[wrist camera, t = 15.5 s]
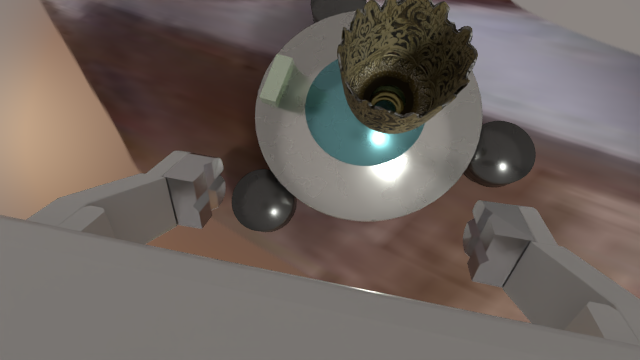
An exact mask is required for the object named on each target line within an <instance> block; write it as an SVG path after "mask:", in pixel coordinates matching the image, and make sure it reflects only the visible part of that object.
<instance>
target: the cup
mask: <svg viewBox="0 0 640 360" xmlns="http://www.w3.org/2000/svg"><path fill="white" fill-rule="evenodd" d="M380 8H381V9H380ZM449 10H450V8H449V6H448V5H447V3H446V2H444V1H443V2H440V3H438V4H436V5H434V4H433V2H432V0H398V1H397V0H385V2H384V4H383V6H382V7H380V5H379V4H378V3H377V2H376V1H375V0H370V1H368V2H367V4H365V6H364V7H363V11H362V10H360V9H357V10H356V12H355V15H354V17H353V20H352V22H351V23H350V28H349V29H347V28H345V27H343V30H342V40H341V43H340V44H339V45H338V48H337V57H338V64H339V68H340V74H341V80H342V85H343V89H344V94H345V97H346V100H347V103H348V105H349V107H350V109H351V111H352V113H353V114H354V116H355V117H356V118H357V119H358V120H359V121H360V122H361V123H362V124H364V125H365V126H366V127H368V128H370V129H372V130H374V131H377V132H381V133H386V134H399V133H404V132H408V131H411V130H413V129H415V128H417V127H419V126H421V125H423V124H424V123H426V122H427V121H428V120H430V119H431V118H432V117H434V116H435V115H436V114H437V113H438V112H440V111H441V110H442V109H443V108H444V107H445V106H447V105H448V104H449V103H451V102H452V101H453V100H454V99H455V98H456V97H457V96H456V95H457V94H458V93H459V92H460V91H461V90H463V89H464V88H465V87H466V86H467V85H468V83H469V82H470V80H469V79H468V75H469V74H470V72H471V70H472V69H473V67H474V65H475V62H476V60H477V57H478V53H477V50H476V49H475V48H474V46H472V45H471V43H470V42H471V40H472V28H471V27H469V26H463V27H461V29H459V30H457V29H456V26H455V23H454V22H450V21H449V20H448V19H447V18H448V12H449ZM458 31H460V32H458ZM382 100H386V101H389V102H391V103H392V104H393V105H394V107H395V112H394V111H389V110H386V109H384V108H382V107H379V106H375V105H376V104H377V103H378V102H379V101H382Z"/></svg>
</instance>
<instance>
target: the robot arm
mask: <svg viewBox="0 0 640 360" xmlns="http://www.w3.org/2000/svg"><path fill="white" fill-rule="evenodd" d="M222 171H223V164H222V160H221V159H220V158H218V157H212V156H207V155H201V154H196V153H190V152H185V151H173V152H172V153H171V154H170V155H168V156H167V157H166V158H165V159H163V160H162V161H161V162H160V163H158V164H157V165H156V166H155V167H154V168H152V169H151V170H150V171H149V172H147V173H146V174H142V173H140V174H137V175H134V176H130V177H127V178H124V179H120V180H117V181H114V182H111V183H107V184H104V185H100V186H97V187H94V188H90V189H87V190H84V191H80V192H77V193H73V194H70V195H67V196H64V197H60V198H57V199H56V200H55V201H53V202H52V203H50V204H49V205H47V206H46V207H44V208H43V209H41V210H40V211H38V212H37V213H35V214H34V215H32V216H31V217H29V218H28V219H27V220H23V219H18V218H13V217H8V216H3V215H0V360H640V299H638V298H637V297H636V296H634V295H633V294H631V293H630V292H628V291H627V290H626V289H624V288H623V287H621V286H620V285H618V284H617V283H615V282H614V281H613V280H611V279H610V278H608V277H607V276H605V275H604V274H602V273H601V272H600V271H598V270H597V269H595V268H594V267H592V266H591V265H589V264H588V263H587V262H585V261H584V260H582V259H581V258H579V257H578V256H576V255H575V254H574V253H572V252H571V251H569V250H568V249H566V248H565V247H561V246H558V245H557V243H556V241H555V240H554V238H553V236H552V235H551V233H550V231H549V230H548V228H547V226H546V225H545V223H544V221H543V220H542V218H541V216H540V215H539V213H538V211H537V210H536V209H534V208H533V207H525V206H517V205H508V204H501V203H494V202H487V201H480V200H478V202H477V203H476V204H475V206H474V208H473V215H474V219H472V220H470V221H469V222H467V225H466V228H465V230H464V236H463V247H464V251H465V253H466V254H467V255H468V256H469V257H470V259H469V261H468V263H467V264H468V268H469V272H470V276H471V280H472V281H475V282H479V283H484V284H488V285H493V286H498V287H502V288H503V290H504V291H505V292H506V294H507V295H508V296H509V297H510V298H511V299H512V301H513V302H514V303H515V304H516V305H517V306H518V308H519V309H520V310H521V311H522V312H523V313H524V315H525V316H526V317H527V318H528V319H529V320H530V322H531V323H532V324H531V323H527V322H522V321H517V320H512V319H507V318H502V317H497V316H492V315H487V314H482V313H477V312H472V311H467V310H463V309H458V308H453V307H448V306H443V305H438V304H433V303H428V302H424V301H419V300H414V299H409V298H404V297H399V296H394V295H390V294H385V293H380V292H375V291H370V290H365V289H360V288H355V287H350V286H346V285H341V284H336V283H331V282H326V281H321V280H316V279H311V278H306V277H301V276H296V275H291V274H286V273H281V272H276V271H272V270H267V269H262V268H257V267H252V266H247V265H242V264H238V263H232V262H228V261H223V260H218V259H213V258H208V257H203V256H198V255H194V254H188V253H184V252H179V251H174V250H169V249H164V248H159V247H155V246H149V245H145V244H146V243H148V242H150V241H152V240H153V239H155V238H157V237H159V236H160V235H162V234H164V233H166V232H167V231H169V230H171V229H172V228H174V227H176V226H177V225H182V226H188V227H194V228H200V229H202V228H203V227H204V225H205V224H206V223H207V222H208V220H209V219H210V218H211V216H212V212H211V210H213V209H215V208H217V207H219V205H220V204H221V203H222V201H223V198H224V195H225V180H224V179H223V178H222V176H221V175H220V173H221V172H222Z"/></svg>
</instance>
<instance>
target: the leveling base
mask: <svg viewBox="0 0 640 360" xmlns="http://www.w3.org/2000/svg"><path fill="white" fill-rule="evenodd" d="M365 4H366V0H311V9H312V15H313V21H314V24H313V25H311V26H309V27H307V28H305V29H304V30H303V31H301V32H300V33H298V34H297V35H296V36H294V37H293V38H292V39H291V40H290V41H289V42H288V43H287V44H285V45H284V47H283V48H282V49H281V50H280V51H279V52H278V54H277V55H276V56H275V57H274V59H273V60H272V62H271V64H270V65H269V67H268V69H267V71H266V73H265V75H264V77H263V79H262V82H261V85H260V88H259V91H258V95H257V100H256V109H255V124H256V133H257V138H258V142H259V146H260V148H261V151H262V154H263V156H264V159H265V160H266V162H267V164H268V166H269V168H270V170H267V169H261V170H256V171H253V172H250V173H248V174H247V175H245V176H244V177H243V178H242V179H241V180H240V181H239V182H238V184H237V185H236V187H235V189H234V192H233V196H232V208H233V212H234V214H235V216H236V218H237V219H238V221H239V222H240V223H241V224H242V225H244V226H245V227H247V228H249V229H251V230H255V231H261V232H272V231H276V230H278V229H280V228H282V227H284V226H285V225H286V224H287V223H288V222H289V221H290V220H291V218H292V217H293V215H294V213H295V210H296V203H297V200H296V198H298V199H299V200H300V201H301V202H303V203H304V204H306V205H308V206H310V207H311V208H313V209H315V210H317V211H319V212H322V213H324V214H326V215H329V216H332V217H336V218H340V219H344V220H351V221H358V222H375V221H383V220H390V219H394V218H398V217H402V216H405V215H408V214H410V213H413V212H415V211H417V210H420V209H422V208H423V207H425V206H427V205H428V204H430V203H432V202H434V201H435V200H437V199H438V198H439V197H440V196H442V195H443V194H444V193H446V192H447V191H448V190H449V189H450V188H451V187H452V186H453V185H454V184H455V183H456V182H457V181H458V179H459V178H460V177H461V175H462V174H463V173H464V174H465V176H466V177H467V178H469V179H470V180H471V181H473V182H476V183H478V184H480V185H483V186H486V187H501V186H505V185H507V184H510V183H512V182H515V181H517V180H520V179H521V178H523V177H524V176H526V175H527V174H528V173H529V172H530V170H531V169H532V167H533V165H534V162H535V147H534V144H533V142H532V140H531V138H530V137H529V135H528V134H527V133H526V132H525V131H524V130H523V129H521V128H520V127H518V126H517V125H515V124H512V123H509V122H505V121H493V122H488V123H486V124H483V125H482V102H481V96H480V92H479V87H478V84H477V81H476V79H475V76H474V74H473V71H472V70H471V72H470V74H469V75H468V79H469V80H470V82H469V83H468V85H467V86H466V87H465V88H464V89H463V90H461V91H460V92H459V93H458V94H457V95H456V96H457V97H456V98H455V99H454V100H453V101H452V102H451V103H449V104H448V105H447V106H445V107H444V108H443V109H442V110H441V111H440V112H438V113H437V114H436V115H435V116H434V117H432V118H431V119H430V120H428V121H427V122H426V123H424V124H423V125H421V126H419V127H417V128H415V129H413V130H411V131H408V132H404V133H399V134H386V133H381V132H377V131H374V130H372V129H370V128H368V127H366V126H365V125H364V124H362V123H361V122H360V121H359V120H358V119H357V118H356V117H355V116H354V114H353V113H352V111H351V109H350V107H349V105H348V103H347V100H346V97H345V94H344V89H343V85H342V80H341V74H340V68H339V64H338V57H337V48H338V45H339V44H340V43H341V40H342V30H343V27H345V28H347V29H349V28H350V23H351V22H352V20H353V17H354V15H355V12H356V10H357V9H360V10H362V11H363V7H364V6H365ZM375 106H379V107H382V108H384V109H386V110H389V111H394V112H395V107H394V105H393V104H392V103H391V102H389V101H386V100H382V101H379V102H378V103H377V104H376V105H375Z"/></svg>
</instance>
